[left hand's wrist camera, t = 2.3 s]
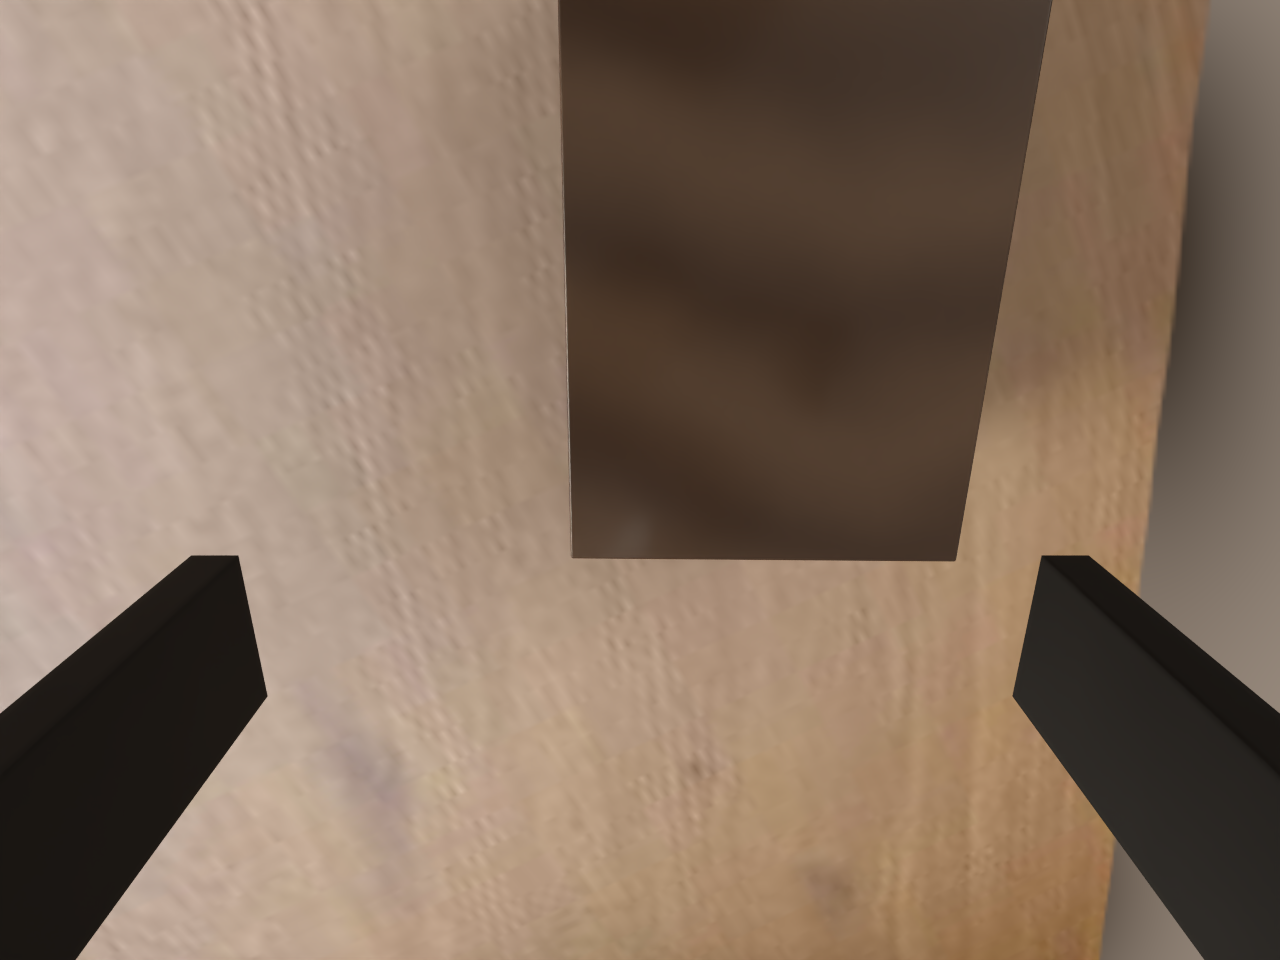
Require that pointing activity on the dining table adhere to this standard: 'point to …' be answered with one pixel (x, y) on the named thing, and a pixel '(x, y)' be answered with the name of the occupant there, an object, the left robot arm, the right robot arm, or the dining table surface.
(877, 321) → the cabinet
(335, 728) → the dining table surface
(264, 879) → the dining table surface
